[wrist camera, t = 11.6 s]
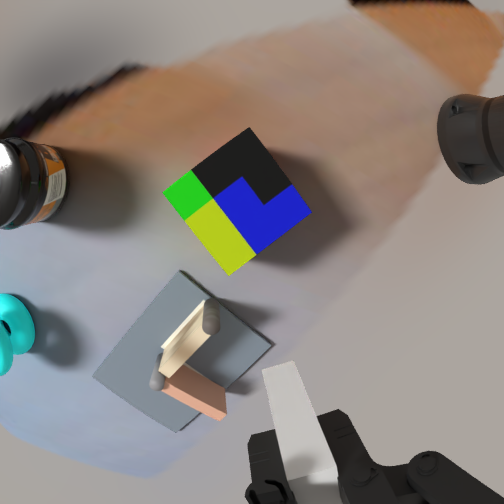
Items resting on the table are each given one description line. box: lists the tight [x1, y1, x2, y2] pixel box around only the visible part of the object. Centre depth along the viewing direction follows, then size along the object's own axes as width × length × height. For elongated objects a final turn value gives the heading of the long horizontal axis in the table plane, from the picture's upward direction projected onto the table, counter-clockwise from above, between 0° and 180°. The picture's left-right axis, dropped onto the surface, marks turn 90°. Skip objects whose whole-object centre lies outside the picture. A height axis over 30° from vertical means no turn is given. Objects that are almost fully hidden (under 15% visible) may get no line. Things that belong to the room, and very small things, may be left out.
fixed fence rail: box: [158, 298, 220, 378], centre depth 37 cm, size 10×2×7 cm, turn 137°
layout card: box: [92, 270, 271, 433], centre depth 42 cm, size 22×16×1 cm
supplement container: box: [0, 138, 69, 230], centre depth 29 cm, size 10×10×12 cm
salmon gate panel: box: [149, 353, 227, 421], centre depth 38 cm, size 11×2×7 cm, turn 53°
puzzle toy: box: [163, 127, 312, 276], centre depth 34 cm, size 10×10×10 cm
